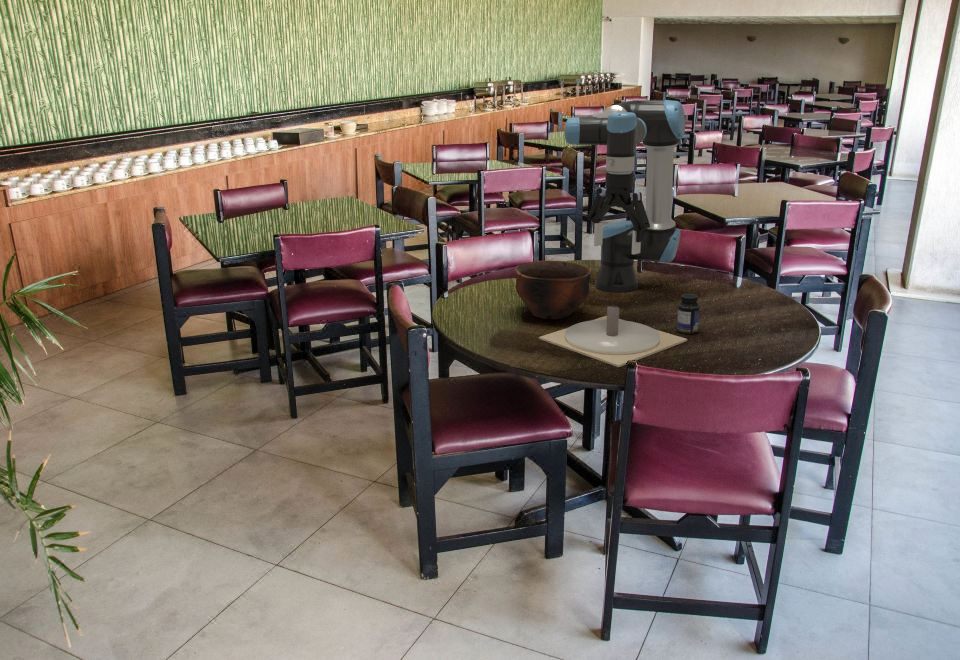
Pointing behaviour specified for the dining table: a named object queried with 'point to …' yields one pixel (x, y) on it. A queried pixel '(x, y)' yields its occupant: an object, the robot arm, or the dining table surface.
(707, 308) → the dining table surface
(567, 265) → the bowl
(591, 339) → the lid
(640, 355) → the mat
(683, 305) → the pill bottle
